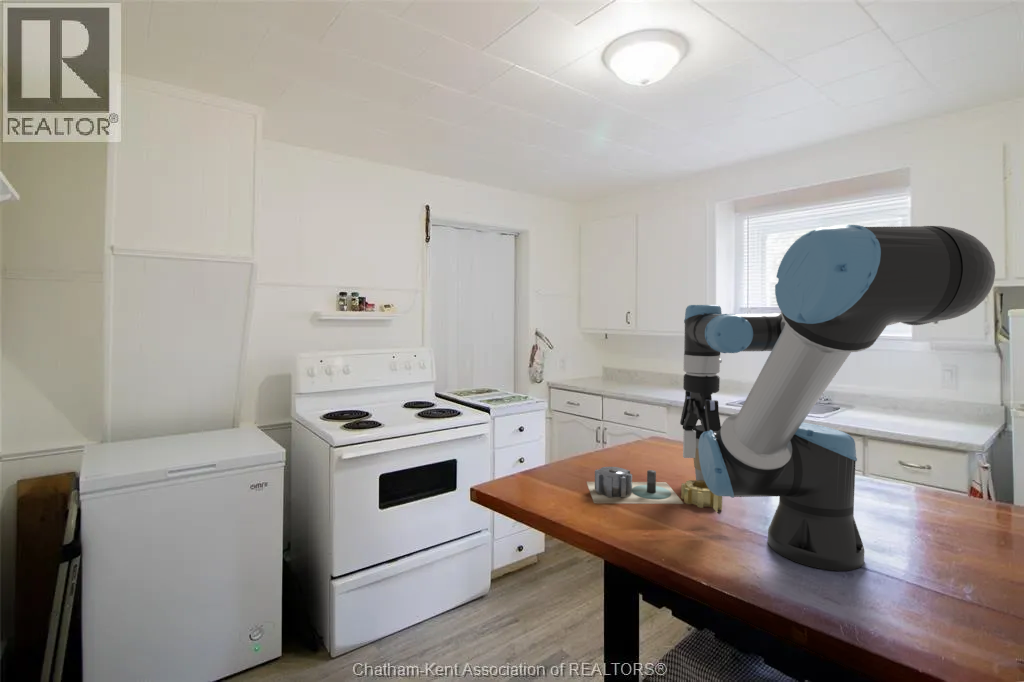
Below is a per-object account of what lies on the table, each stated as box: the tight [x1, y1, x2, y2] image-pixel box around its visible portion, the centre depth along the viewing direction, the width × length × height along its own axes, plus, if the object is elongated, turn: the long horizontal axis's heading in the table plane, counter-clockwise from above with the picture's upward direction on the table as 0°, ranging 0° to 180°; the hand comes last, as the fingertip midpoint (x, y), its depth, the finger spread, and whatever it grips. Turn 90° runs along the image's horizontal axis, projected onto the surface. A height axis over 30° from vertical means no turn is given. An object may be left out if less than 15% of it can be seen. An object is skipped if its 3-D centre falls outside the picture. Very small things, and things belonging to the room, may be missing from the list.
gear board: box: [586, 469, 685, 505], centre depth 116 cm, size 14×20×7 cm
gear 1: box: [594, 466, 633, 497], centre depth 116 cm, size 8×8×5 cm
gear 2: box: [680, 479, 723, 513], centre depth 111 cm, size 8×8×5 cm
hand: (699, 467), depth 111 cm, fingers open, 13 cm apart
